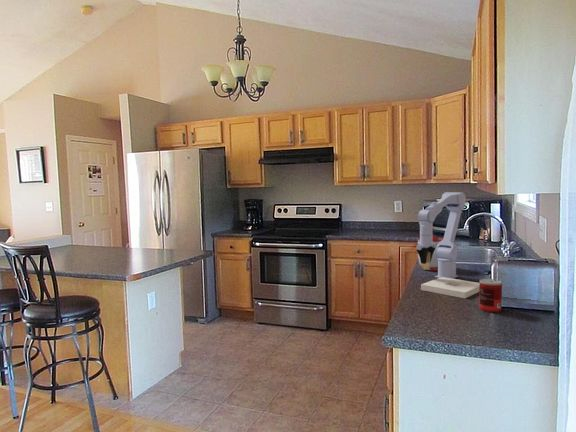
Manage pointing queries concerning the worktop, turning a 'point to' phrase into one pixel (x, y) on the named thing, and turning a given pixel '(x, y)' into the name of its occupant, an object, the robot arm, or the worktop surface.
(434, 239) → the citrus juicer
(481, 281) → the canned food
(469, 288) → the holder board
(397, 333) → the worktop surface
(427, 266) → the maple dowel
